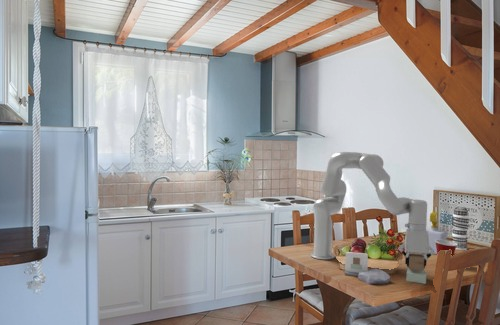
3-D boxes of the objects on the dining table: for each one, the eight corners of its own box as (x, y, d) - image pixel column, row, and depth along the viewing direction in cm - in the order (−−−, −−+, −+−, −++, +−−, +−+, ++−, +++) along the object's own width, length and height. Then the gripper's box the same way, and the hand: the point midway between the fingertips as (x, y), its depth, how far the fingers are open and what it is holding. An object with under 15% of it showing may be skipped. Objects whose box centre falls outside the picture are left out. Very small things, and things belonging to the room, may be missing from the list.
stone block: (391, 286, 174) (375, 275, 183) (393, 276, 173) (377, 265, 182) (372, 291, 169) (356, 279, 177) (374, 281, 168) (357, 270, 176)
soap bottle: (446, 254, 224) (448, 213, 223) (440, 255, 220) (442, 214, 219) (426, 249, 234) (427, 210, 233) (420, 251, 230) (421, 211, 229)
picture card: (345, 271, 188) (345, 250, 188) (367, 273, 185) (367, 252, 185) (344, 275, 182) (345, 253, 182) (367, 277, 179) (367, 255, 179)
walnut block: (407, 265, 182) (408, 252, 182) (421, 267, 180) (422, 254, 180) (409, 269, 176) (409, 256, 176) (423, 270, 175) (424, 257, 174)
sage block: (407, 276, 183) (407, 267, 183) (426, 279, 180) (426, 270, 180) (406, 281, 176) (406, 272, 176) (425, 284, 173) (426, 275, 172)
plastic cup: (457, 268, 196) (458, 245, 196) (433, 265, 201) (434, 242, 200) (456, 263, 206) (457, 240, 205) (433, 260, 210) (434, 238, 210)
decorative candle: (447, 247, 239) (449, 206, 238) (455, 245, 245) (456, 205, 244) (463, 251, 232) (464, 208, 231) (470, 248, 238) (472, 207, 237)
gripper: (397, 227, 176) (396, 267, 177) (439, 230, 172) (437, 271, 172) (396, 224, 184) (394, 262, 184) (436, 227, 179) (434, 266, 180)
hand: (415, 266), depth 178 cm, fingers closed on walnut block, 6 cm apart
